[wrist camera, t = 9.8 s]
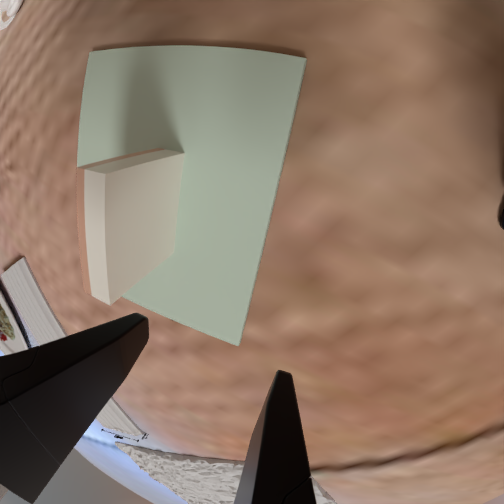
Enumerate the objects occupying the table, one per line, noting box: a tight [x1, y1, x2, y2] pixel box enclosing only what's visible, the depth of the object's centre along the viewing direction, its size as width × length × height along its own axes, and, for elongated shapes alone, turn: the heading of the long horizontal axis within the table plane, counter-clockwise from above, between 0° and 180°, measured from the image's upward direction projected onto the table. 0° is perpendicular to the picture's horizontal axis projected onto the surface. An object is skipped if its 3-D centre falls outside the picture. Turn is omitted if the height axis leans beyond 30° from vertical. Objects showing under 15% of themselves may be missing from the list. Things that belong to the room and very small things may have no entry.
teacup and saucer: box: [0, 0, 23, 30], centre depth 14 cm, size 9×8×4 cm
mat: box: [77, 45, 307, 346], centre depth 19 cm, size 16×20×1 cm
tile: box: [76, 148, 185, 305], centre depth 16 cm, size 2×7×7 cm, turn 169°
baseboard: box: [1, 257, 149, 442], centre depth 34 cm, size 31×3×12 cm
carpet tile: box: [115, 442, 337, 504], centre depth 40 cm, size 39×30×2 cm
